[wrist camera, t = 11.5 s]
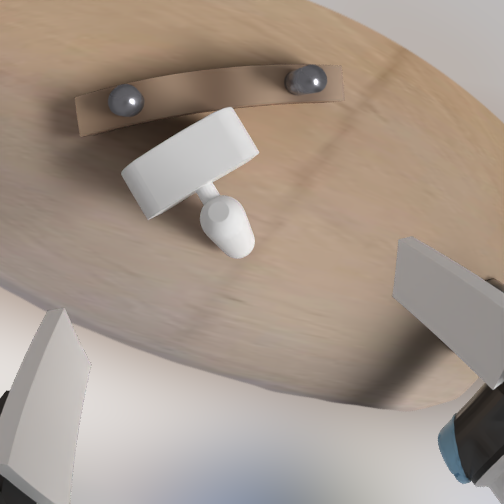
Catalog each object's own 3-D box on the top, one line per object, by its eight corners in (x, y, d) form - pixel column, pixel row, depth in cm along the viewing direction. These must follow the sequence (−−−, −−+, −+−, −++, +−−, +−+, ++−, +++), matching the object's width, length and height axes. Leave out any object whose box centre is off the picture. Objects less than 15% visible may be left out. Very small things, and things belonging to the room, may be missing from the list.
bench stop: (319, 71, 24) (361, 60, 18) (322, 102, 26) (365, 100, 20) (88, 100, 21) (60, 93, 15) (93, 134, 22) (66, 139, 16)
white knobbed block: (206, 275, 29) (205, 317, 19) (147, 179, 27) (114, 173, 17) (282, 230, 29) (318, 250, 19) (225, 132, 27) (233, 101, 17)
